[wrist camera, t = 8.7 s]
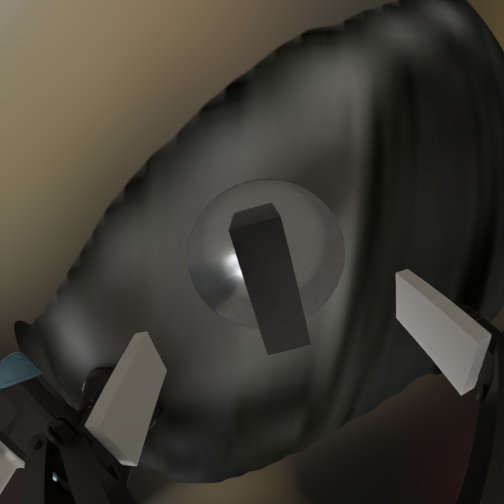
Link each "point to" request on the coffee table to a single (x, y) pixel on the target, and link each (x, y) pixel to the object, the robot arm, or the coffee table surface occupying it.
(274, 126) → the coffee table surface
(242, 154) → the coffee table surface
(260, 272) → the steel lid
